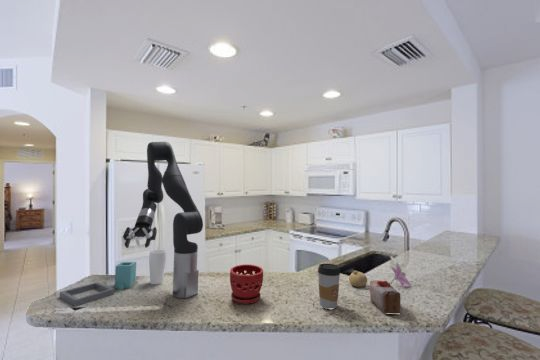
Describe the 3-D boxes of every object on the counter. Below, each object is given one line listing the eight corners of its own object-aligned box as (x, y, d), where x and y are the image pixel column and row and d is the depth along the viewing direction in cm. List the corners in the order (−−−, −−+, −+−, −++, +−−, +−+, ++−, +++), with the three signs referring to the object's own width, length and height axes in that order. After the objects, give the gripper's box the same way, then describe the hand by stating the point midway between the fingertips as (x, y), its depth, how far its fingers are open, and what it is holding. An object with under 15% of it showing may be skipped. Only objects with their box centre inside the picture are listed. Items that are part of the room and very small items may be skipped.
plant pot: (222, 299, 104) (223, 268, 104) (247, 290, 113) (248, 262, 114) (244, 310, 95) (245, 276, 95) (269, 299, 104) (270, 269, 105)
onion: (352, 281, 128) (352, 266, 128) (369, 285, 123) (369, 270, 123) (346, 286, 121) (346, 270, 121) (364, 290, 117) (364, 274, 117)
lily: (389, 292, 118) (401, 275, 115) (376, 274, 129) (386, 258, 126) (410, 298, 121) (422, 282, 118) (395, 280, 132) (406, 265, 129)
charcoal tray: (113, 298, 102) (114, 288, 102) (75, 310, 91) (75, 300, 91) (97, 290, 109) (97, 282, 109) (59, 301, 98) (59, 291, 98)
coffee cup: (326, 313, 94) (327, 270, 95) (312, 303, 101) (313, 264, 102) (344, 308, 98) (345, 267, 98) (329, 300, 105) (330, 262, 106)
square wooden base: (138, 285, 116) (139, 266, 116) (131, 292, 108) (132, 272, 108) (119, 285, 115) (119, 267, 115) (110, 293, 107) (111, 273, 107)
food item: (366, 299, 107) (366, 275, 107) (385, 299, 107) (386, 275, 108) (383, 316, 93) (383, 287, 93) (404, 316, 94) (405, 287, 94)
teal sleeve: (135, 282, 115) (136, 261, 115) (128, 289, 108) (129, 266, 108) (120, 283, 114) (121, 262, 114) (113, 289, 107) (114, 267, 107)
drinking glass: (158, 289, 112) (160, 253, 113) (144, 287, 114) (146, 252, 114) (167, 283, 119) (169, 250, 120) (154, 282, 120) (155, 249, 121)
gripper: (128, 214, 131) (117, 242, 120) (158, 214, 133) (150, 242, 122) (132, 223, 137) (122, 251, 125) (161, 223, 138) (153, 251, 127)
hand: (136, 246), depth 123 cm, fingers open, 8 cm apart
